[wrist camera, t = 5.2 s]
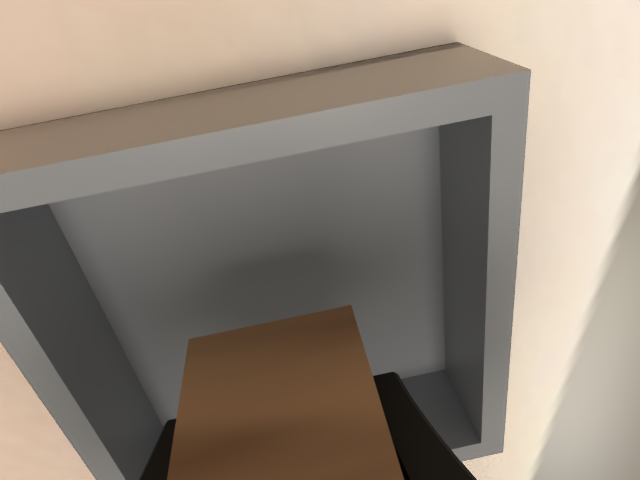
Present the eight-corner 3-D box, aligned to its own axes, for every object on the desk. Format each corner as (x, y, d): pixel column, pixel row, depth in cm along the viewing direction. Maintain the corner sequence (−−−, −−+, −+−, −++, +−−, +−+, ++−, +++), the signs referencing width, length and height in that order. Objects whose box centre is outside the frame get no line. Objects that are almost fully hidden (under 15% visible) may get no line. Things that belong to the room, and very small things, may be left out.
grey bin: (459, 368, 20) (503, 452, 16) (154, 434, 19) (134, 534, 16) (457, 42, 13) (530, 69, 10) (-9, 132, 13) (-103, 194, 9)
